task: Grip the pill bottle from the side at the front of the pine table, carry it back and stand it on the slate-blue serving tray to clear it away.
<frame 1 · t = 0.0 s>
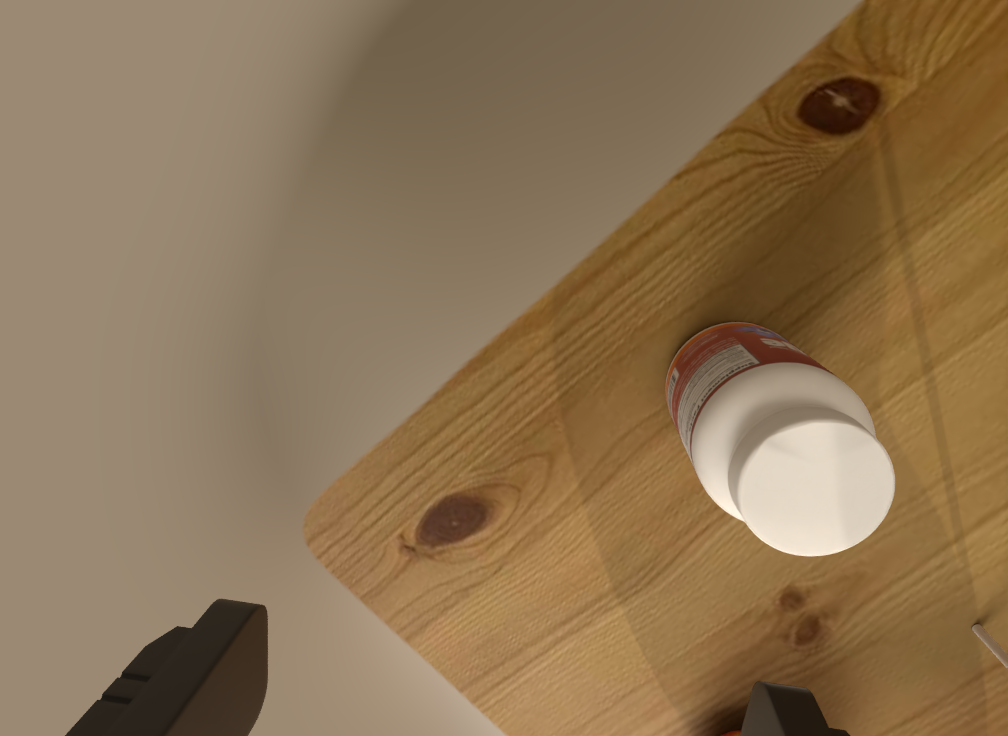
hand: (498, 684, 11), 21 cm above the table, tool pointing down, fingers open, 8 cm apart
pill bottle: (728, 381, 31), on the table
lollipop: (974, 625, 33), on the table
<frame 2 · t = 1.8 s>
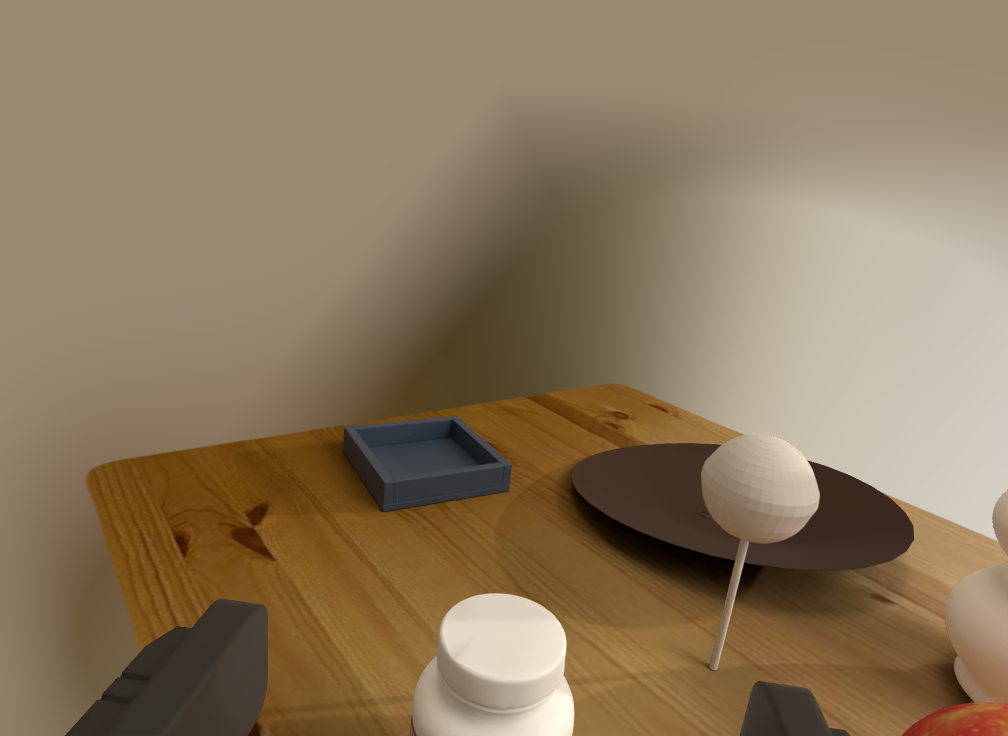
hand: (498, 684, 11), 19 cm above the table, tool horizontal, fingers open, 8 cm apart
tray: (423, 470, 59), on the table
plate: (724, 513, 58), on the table
lollipop: (712, 670, 39), on the table
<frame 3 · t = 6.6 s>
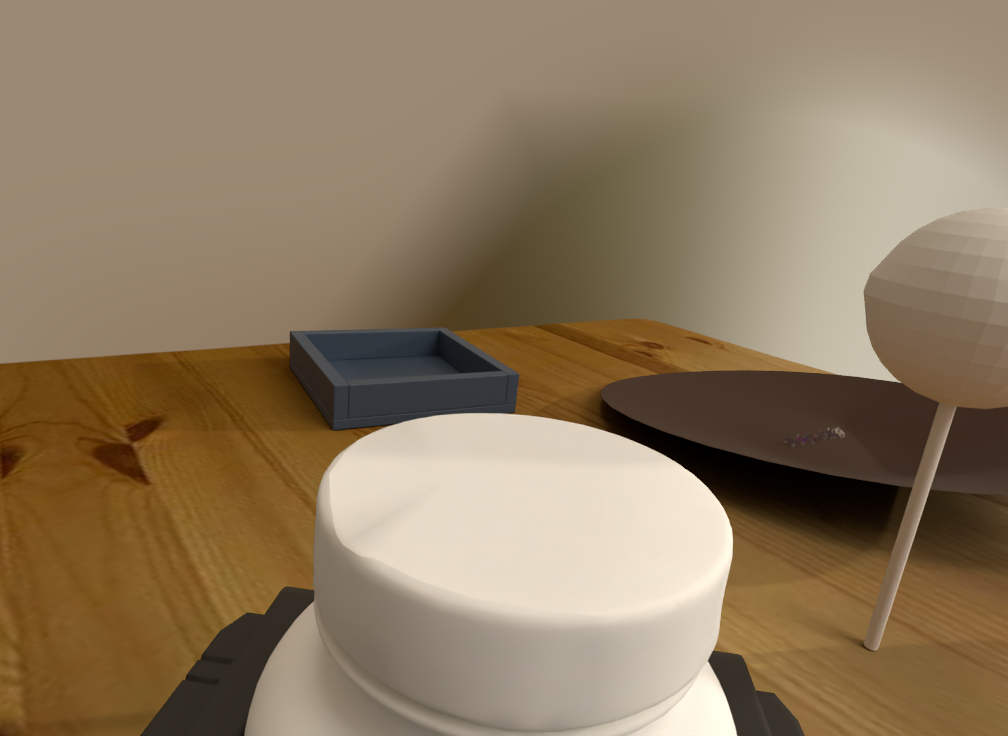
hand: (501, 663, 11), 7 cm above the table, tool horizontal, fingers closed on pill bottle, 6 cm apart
tray: (397, 388, 43), on the table
plate: (813, 443, 42), on the table
lollipop: (869, 650, 23), on the table
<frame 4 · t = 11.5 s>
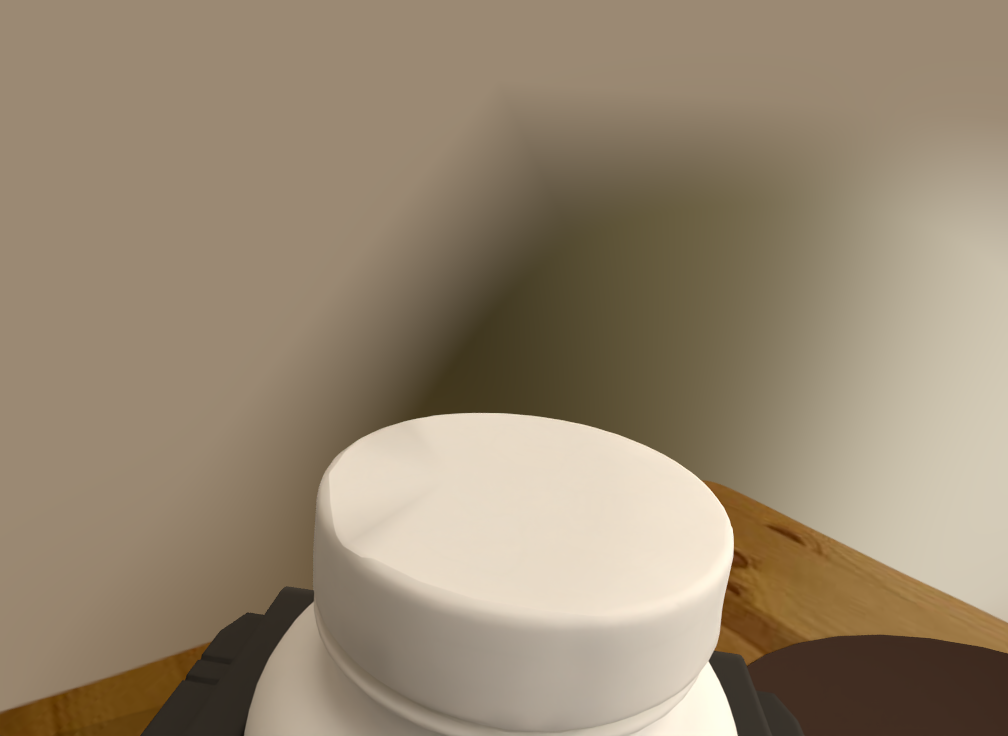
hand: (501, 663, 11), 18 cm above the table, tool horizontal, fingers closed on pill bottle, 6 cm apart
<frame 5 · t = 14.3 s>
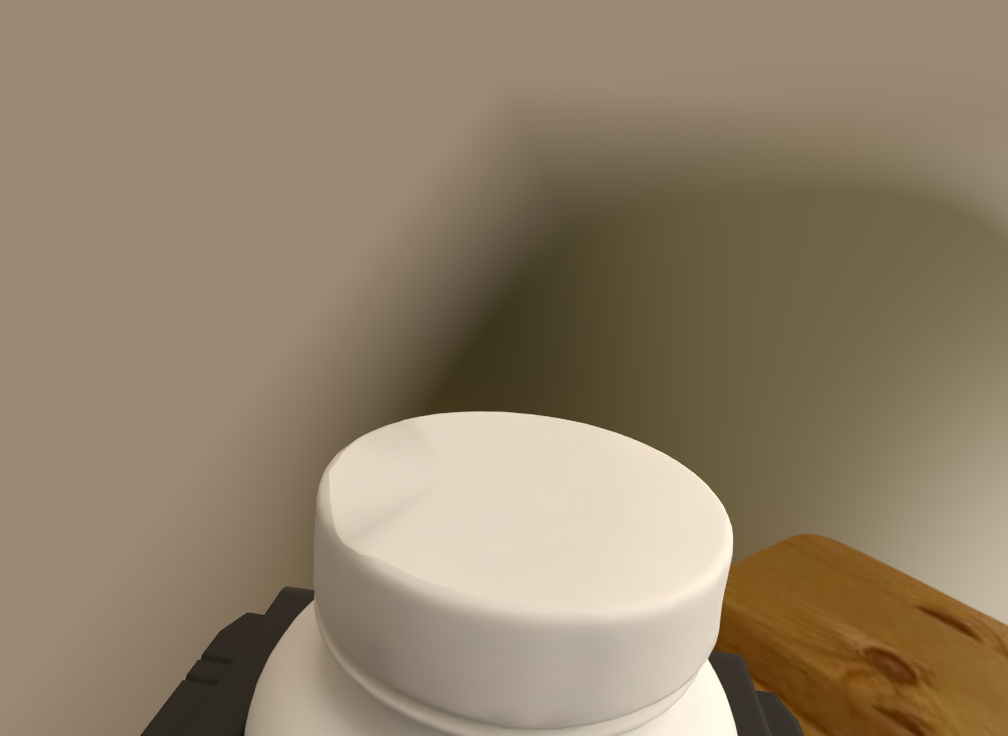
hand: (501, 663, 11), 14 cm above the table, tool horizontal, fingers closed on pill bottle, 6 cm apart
when the fingers open (7 cm above the table, at t = 16.7 s): pill bottle stays where it is, resting on tray.
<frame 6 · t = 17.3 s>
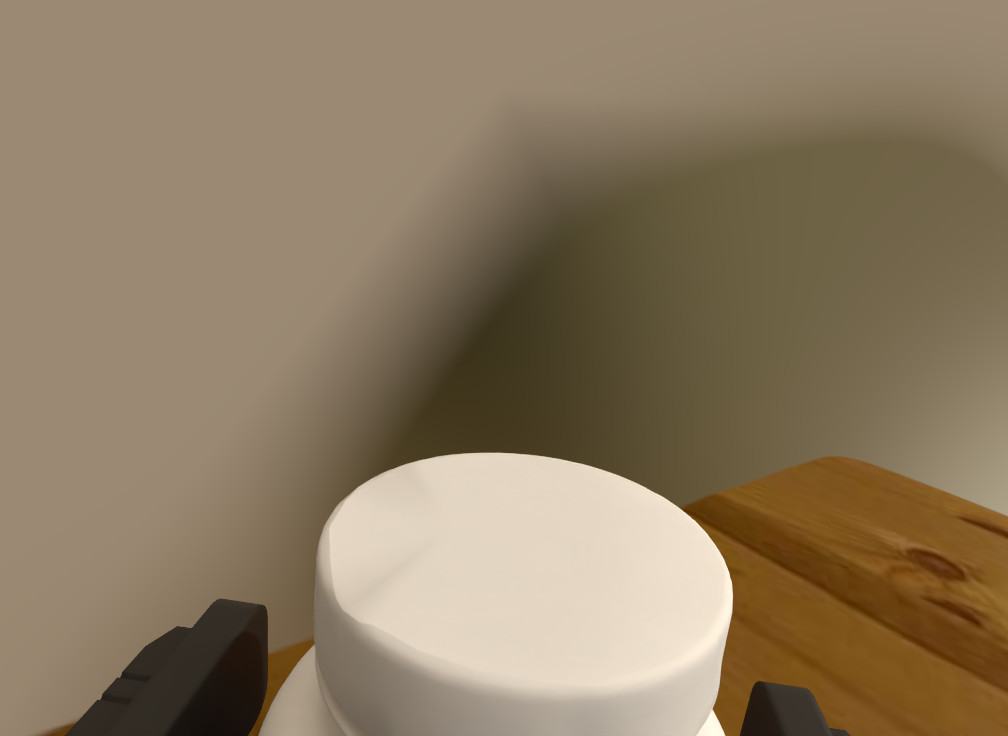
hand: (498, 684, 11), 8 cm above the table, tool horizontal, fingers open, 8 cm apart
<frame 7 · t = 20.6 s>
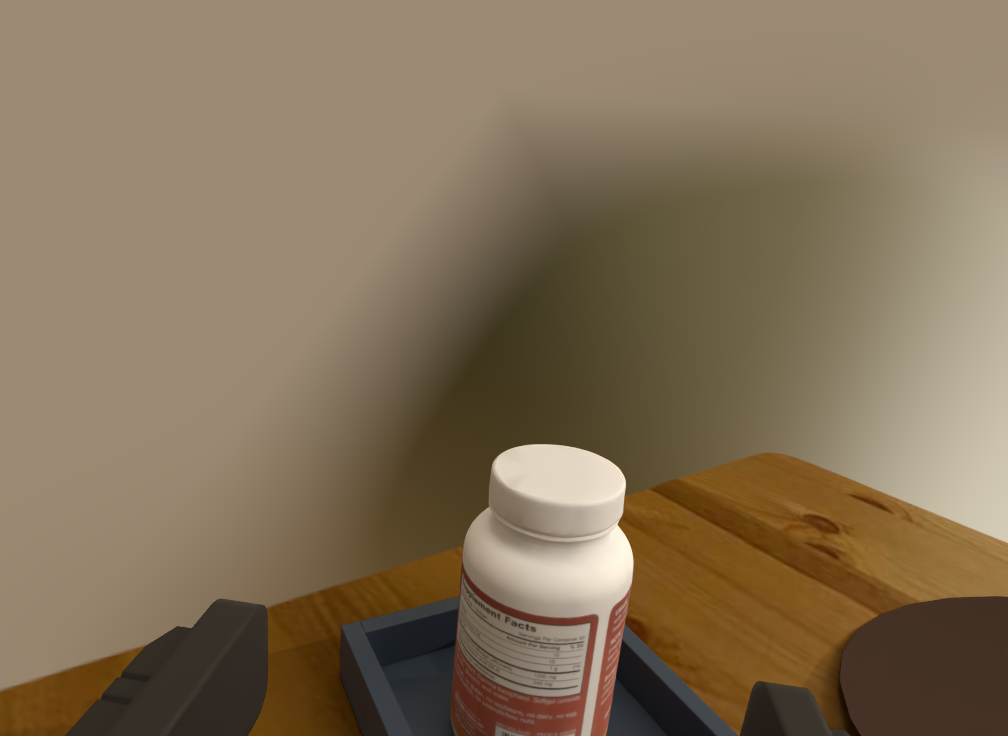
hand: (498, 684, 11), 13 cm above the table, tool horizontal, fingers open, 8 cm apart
pill bottle: (525, 729, 26), resting on tray
tray: (522, 734, 26), on the table
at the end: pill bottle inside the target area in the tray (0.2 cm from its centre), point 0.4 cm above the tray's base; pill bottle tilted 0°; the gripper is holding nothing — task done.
